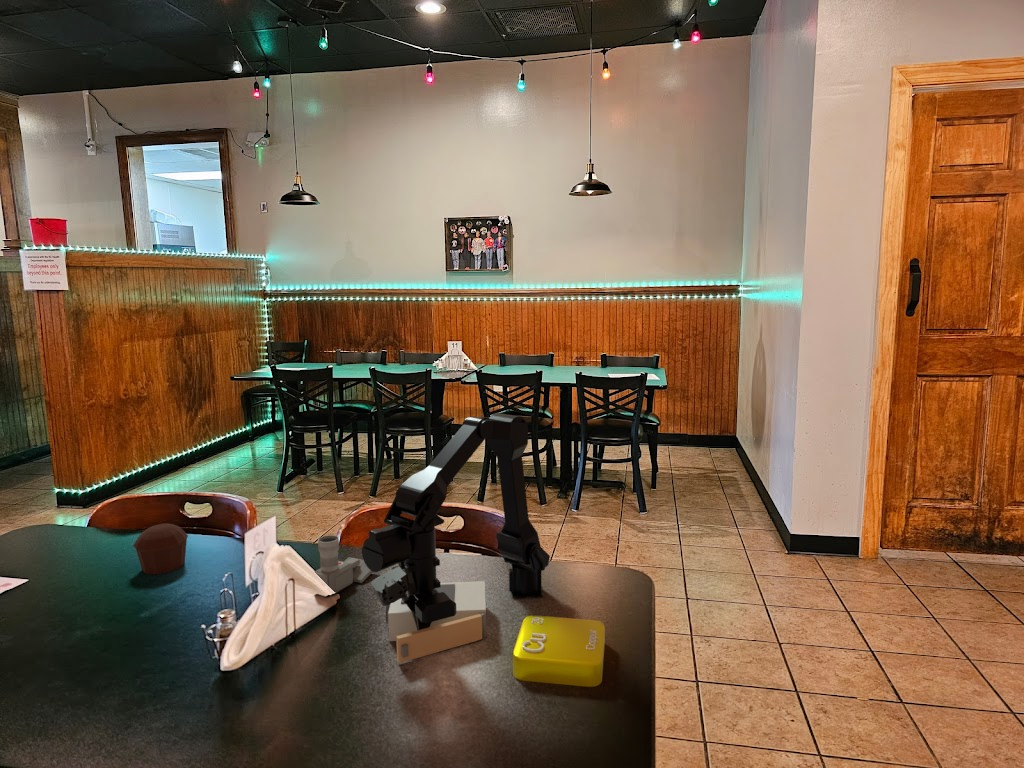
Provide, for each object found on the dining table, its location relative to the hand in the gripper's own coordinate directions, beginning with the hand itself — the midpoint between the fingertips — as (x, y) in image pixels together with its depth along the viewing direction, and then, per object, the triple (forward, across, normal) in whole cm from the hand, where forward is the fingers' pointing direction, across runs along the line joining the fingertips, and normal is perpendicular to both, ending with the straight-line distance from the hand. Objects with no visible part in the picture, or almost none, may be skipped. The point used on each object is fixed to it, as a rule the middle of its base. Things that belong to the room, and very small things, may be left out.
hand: (422, 635), depth 118 cm
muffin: (+3, -64, -41) cm, 76 cm away
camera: (+3, -34, -6) cm, 35 cm away
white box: (+3, -7, +6) cm, 10 cm away
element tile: (+3, +15, +20) cm, 25 cm away
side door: (+2, +3, +3) cm, 5 cm away
